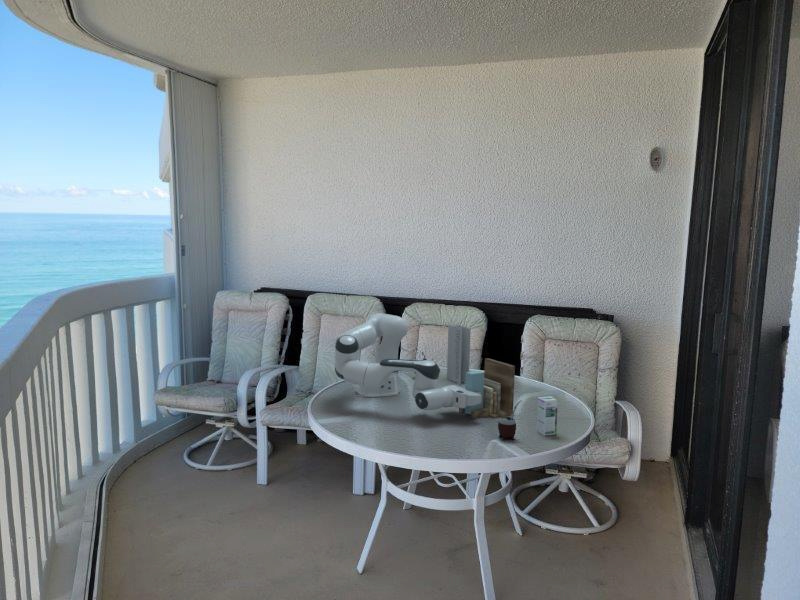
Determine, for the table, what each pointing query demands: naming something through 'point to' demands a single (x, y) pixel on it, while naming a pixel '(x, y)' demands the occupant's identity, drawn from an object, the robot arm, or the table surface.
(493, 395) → the offcut stack
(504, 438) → the mate gourd
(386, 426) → the table surface
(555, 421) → the syrup box
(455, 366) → the brochure
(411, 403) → the table surface
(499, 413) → the offcut rack
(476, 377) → the light blue tall block
